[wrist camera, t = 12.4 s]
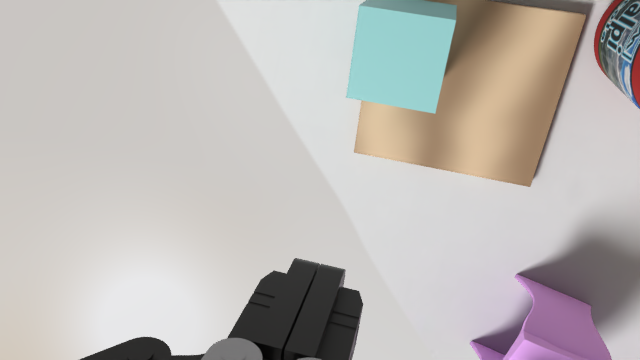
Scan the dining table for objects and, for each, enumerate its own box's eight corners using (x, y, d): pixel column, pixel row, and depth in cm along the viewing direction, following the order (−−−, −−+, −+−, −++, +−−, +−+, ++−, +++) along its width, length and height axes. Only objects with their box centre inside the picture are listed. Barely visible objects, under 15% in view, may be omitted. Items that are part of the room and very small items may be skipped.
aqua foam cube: (456, 5, 33) (456, 20, 27) (439, 84, 35) (435, 113, 29) (376, -7, 34) (359, 5, 28) (364, 71, 36) (346, 97, 30)
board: (583, 13, 33) (586, 15, 32) (528, 182, 38) (530, 186, 37) (380, -15, 35) (378, -14, 34) (355, 148, 40) (353, 152, 39)
